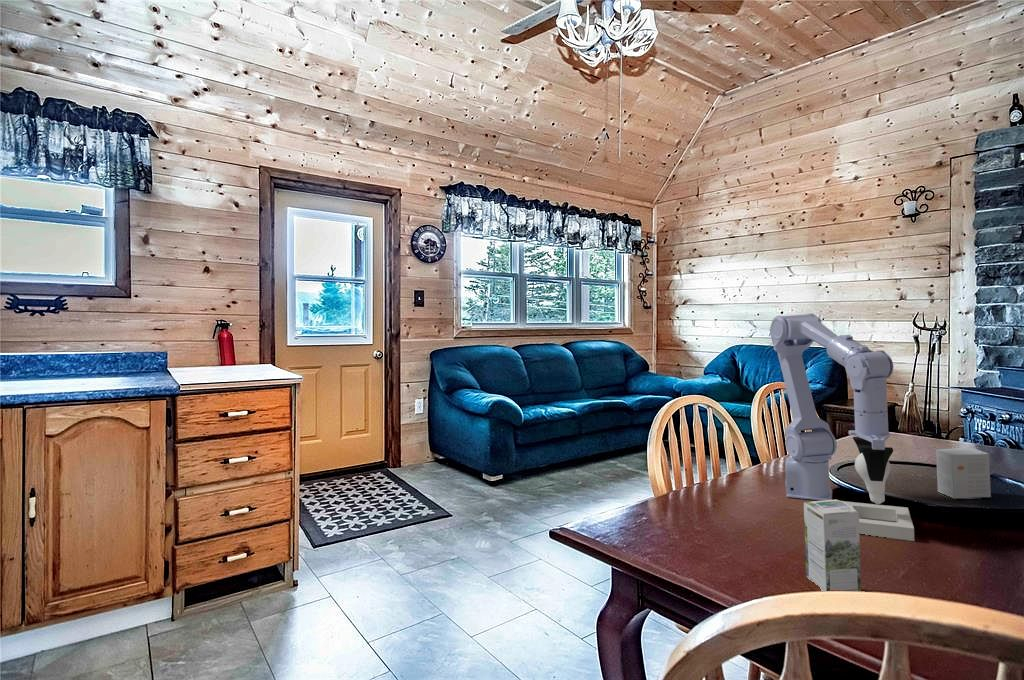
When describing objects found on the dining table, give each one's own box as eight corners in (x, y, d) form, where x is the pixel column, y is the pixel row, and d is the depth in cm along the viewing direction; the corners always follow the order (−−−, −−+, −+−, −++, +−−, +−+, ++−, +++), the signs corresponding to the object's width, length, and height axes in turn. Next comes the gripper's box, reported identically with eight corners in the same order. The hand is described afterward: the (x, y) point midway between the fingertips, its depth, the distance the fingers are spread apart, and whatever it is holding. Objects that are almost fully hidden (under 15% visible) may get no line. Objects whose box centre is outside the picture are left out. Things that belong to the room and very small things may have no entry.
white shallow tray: (841, 532, 112) (840, 520, 111) (841, 512, 122) (841, 501, 122) (914, 541, 105) (913, 528, 105) (908, 519, 116) (907, 507, 115)
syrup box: (839, 582, 92) (835, 497, 91) (863, 600, 86) (859, 509, 86) (805, 585, 92) (801, 500, 91) (827, 604, 86) (823, 512, 85)
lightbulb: (885, 511, 109) (876, 456, 109) (854, 504, 115) (846, 452, 114) (902, 502, 112) (894, 449, 112) (871, 496, 117) (863, 445, 117)
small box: (973, 491, 129) (971, 447, 128) (991, 499, 123) (990, 453, 123) (936, 492, 130) (935, 448, 129) (953, 500, 124) (951, 454, 124)
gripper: (843, 404, 121) (845, 465, 121) (853, 417, 108) (856, 485, 108) (881, 404, 118) (883, 466, 118) (896, 417, 105) (899, 487, 105)
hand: (873, 476), depth 113 cm, fingers closed on lightbulb, 6 cm apart
